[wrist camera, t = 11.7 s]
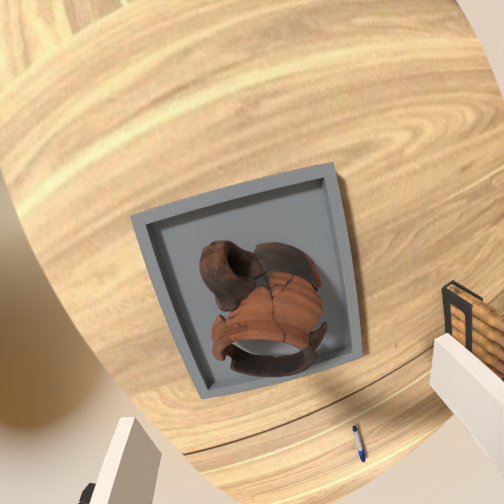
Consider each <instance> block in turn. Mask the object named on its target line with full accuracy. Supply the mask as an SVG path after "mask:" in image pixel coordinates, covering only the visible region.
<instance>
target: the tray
mask: <svg viewBox="0 0 504 504" xmlns="http://www.w3.org/2000/svg"><path fill="white" fill-rule="evenodd" d="M130 217H131V220H132V224H133V227H134V230H135V233H136V237H137V240H138V243H139V246H140V249H141V252H142V255H143V258H144V261H145V264H146V267H147V270H148V273H149V276H150V279H151V281H152V284H153V287H154V290H155V292H156V295H157V298H158V300H159V303H160V306H161V308H162V311H163V313H164V316H165V318H166V321H167V323H168V326H169V328H170V331H171V333H172V336H173V338H174V340H175V343H176V345H177V348H178V350H179V352H180V354H181V357H182V359H183V361H184V363H185V366H186V368H187V370H188V372H189V374H190V377H191V379H192V381H193V383H194V385H195V387H196V389H197V391H198V393H199V396H200V398H201V399H206V398H212V397H218V396H223V395H228V394H233V393H238V392H243V391H247V390H252V389H256V388H260V387H265V386H269V385H273V384H277V383H281V382H284V381H288V380H292V379H296V378H299V377H303V376H306V375H310V374H313V373H316V372H319V371H323V370H326V369H329V368H332V367H335V366H338V365H341V364H344V363H347V362H350V361H353V360H356V359H359V358H361V357H363V352H362V339H361V328H360V317H359V308H358V299H357V291H356V283H355V276H354V269H353V262H352V256H351V249H350V243H349V237H348V231H347V226H346V220H345V215H344V210H343V205H342V200H341V195H340V190H339V185H338V181H337V176H336V172H335V168H334V163H333V162H331V163H325V164H320V165H315V166H310V167H306V168H301V169H297V170H292V171H288V172H283V173H279V174H275V175H271V176H267V177H262V178H258V179H254V180H250V181H246V182H243V183H239V184H235V185H231V186H227V187H224V188H220V189H216V190H213V191H209V192H205V193H202V194H198V195H195V196H192V197H188V198H185V199H181V200H178V201H175V202H171V203H168V204H165V205H162V206H158V207H155V208H152V209H149V210H146V211H143V212H140V213H137V214H134V215H131V216H130ZM216 240H223V241H224V240H228V241H231V242H233V243H235V244H236V245H237V246H238V247H240V248H242V249H243V250H246V251H250V252H252V253H253V252H254V250H255V249H256V245H257V244H260V243H271V242H278V243H284V244H287V245H291V246H294V247H295V248H297V249H299V250H301V251H303V252H304V253H305V254H306V255H307V256H308V257H309V258H310V259H311V260H312V262H313V263H314V265H315V268H316V271H317V272H318V273H319V276H320V278H321V283H322V285H321V286H320V287H318V291H317V292H316V293H317V294H318V296H319V297H320V298H321V300H322V309H323V313H322V315H321V317H320V319H319V321H318V322H317V323H316V325H315V327H314V328H313V329H312V330H311V331H316V330H318V329H319V328H320V327H321V325H322V323H323V322H325V321H326V322H327V332H326V334H325V335H324V338H323V340H322V342H321V343H320V345H319V346H318V348H317V349H316V350H315V352H316V354H318V357H317V359H316V361H315V362H314V364H313V365H312V366H311V367H310V368H308V369H307V370H305V371H304V372H301V373H299V374H295V375H291V376H285V377H255V376H249V375H245V374H241V373H238V372H235V371H232V370H231V369H230V364H231V357H229V356H227V355H226V359H225V360H224V361H220V360H217V359H216V358H215V357H214V355H213V353H212V346H213V344H214V342H213V340H212V338H211V331H212V326H213V324H214V321H215V320H216V317H217V316H218V315H223V316H224V318H225V319H227V318H228V316H229V314H230V311H228V312H224V311H221V310H220V309H219V308H218V306H217V303H216V300H215V295H214V294H213V293H212V292H211V291H210V290H209V289H208V288H207V286H206V285H205V283H204V281H203V279H202V277H201V274H200V269H199V262H200V258H201V254H202V250H203V248H204V247H206V246H208V245H209V244H210V243H211V242H213V241H216ZM259 285H262V286H265V287H268V284H267V282H266V279H265V277H264V276H263V275H262V276H261V277H259V278H258V279H257V280H256V286H259ZM311 331H310V332H311ZM232 344H234V345H236V346H237V347H239V348H241V349H242V350H244V351H246V352H249V353H251V354H255V355H270V356H274V357H275V358H277V357H280V356H283V355H290V354H295V353H297V352H299V351H301V350H300V349H298V348H296V347H294V346H292V345H289V344H286V343H284V342H277V341H272V340H244V341H238V342H234V343H232Z"/></svg>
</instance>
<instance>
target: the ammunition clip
mask: <svg viewBox="0 0 504 504" xmlns="http://www.w3.org/2000/svg"><path fill="white" fill-rule="evenodd" d="M442 294H443V303H444V313H445V324H446V333H448V334H450V335H451V336H452V337H453V338H454V339H456V340H457V341H458V342H459V343H460V344H461V345H463V346H464V347H465V348H466V349H467V350H468V351H470V352H471V353H472V354H473V355H474V356H475V357H477V358H478V359H479V360H480V361H481V362H482V363H483V364H484V365H486V366H487V367H488V368H489V369H490V370H491V371H492V372H493V373H494V374H496V375H497V376H498V377H499V378H500V379H502V378H503V377H504V316H503V315H501V314H500V313H499V312H498V311H497V310H496V309H494V308H493V307H491V306H489V305H488V304H486V303H484V302H483V298H482V297H480V296H479V295H477V294H475V293H474V292H472V291H470V290H469V289H467V288H465V287H464V286H462V285H460V284H459V283H457V282H455V281H454V280H452V281H451V282H450V283H448V284H447V285H445V286H444V287H443V288H442Z"/></svg>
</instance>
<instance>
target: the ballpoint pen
mask: <svg viewBox="0 0 504 504" xmlns="http://www.w3.org/2000/svg"><path fill="white" fill-rule="evenodd" d="M353 433H354V437H355V440H356V444H357V447H358V452H359V455H360V459H361V461H362V462H365V454H364V450H363V448H362V444H361V441H360V437H359V433H358V430H357V428H356V426H353Z"/></svg>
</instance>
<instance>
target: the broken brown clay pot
mask: <svg viewBox="0 0 504 504" xmlns="http://www.w3.org/2000/svg"><path fill="white" fill-rule="evenodd" d="M199 269H200V274H201V277H202V279H203V281H204V283H205V285H206V286H207V288H208V289H209V290H210V291H211V292H212V293H213V294H214V295H215V300H216V303H217V306H218V308H219V309H220V310H221V311H224V312H228V311H230V314H229V316H228V318H227V319H225V318H224V316H223V315H218V316H217V317H216V320H215V321H214V324H213V326H212V331H211V338H212V340H213V342H214V344H213V346H212V353H213V355H214V357H215V358H216V359H217V360H220V361H224V360H225V359H226V355H227V356H229V357H231V364H230V369H231V370H232V371H235V372H238V373H241V374H245V375H249V376H255V377H285V376H291V375H295V374H299V373H301V372H304V371H305V370H307V369H308V368H310V367H311V366H312V365H313V364H314V362H315V361H316V359H317V357H318V354H316V352H315V350H316V349H317V348H318V346H319V345H320V343H321V342H322V340H323V338H324V335H325V334H326V332H327V322H326V321H325V322H323V323H322V325H321V327H320V328H319V329H318V330H316V331H311V330H312V329H313V328H314V327H315V325H316V323H317V322H318V321H319V319H320V317H321V315H322V313H323V309H322V300H321V298H320V297H319V296H318V294H317V293H316V292H317V291H318V287H320V286H321V285H322V283H321V278H320V276H319V273H318V272H317V271H316V268H315V265H314V263H313V262H312V260H311V259H310V258H309V257H308V256H307V255H306V254H305V253H304V252H303V251H301V250H299V249H297V248H295V247H294V246H291V245H287V244H284V243H278V242H271V243H260V244H257V245H256V249H255V250H254V252H253V253H252V252H250V251H246V250H243V249H242V248H240V247H238V246H237V245H236V244H235V243H233V242H231V241H228V240H224V241H223V240H216V241H213V242H211V243H210V244H209V245H208V246H206V247H204V248H203V250H202V254H201V258H200V262H199ZM262 275H263V276H264V277H265V279H266V282H267V284H268V287H265V286H262V285H259V286H256V280H257V279H258V278H259V277H261V276H262ZM310 331H311V332H310ZM244 340H272V341H277V342H284V343H286V344H289V345H292V346H294V347H296V348H298V349H300V350H301V351H299V352H297V353H295V354H290V355H283V356H280V357H277V358H275V357H274V356H270V355H255V354H251V353H249V352H246V351H244V350H242V349H241V348H239V347H237V346H236V345H234V344H232V343H234V342H238V341H244Z"/></svg>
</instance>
